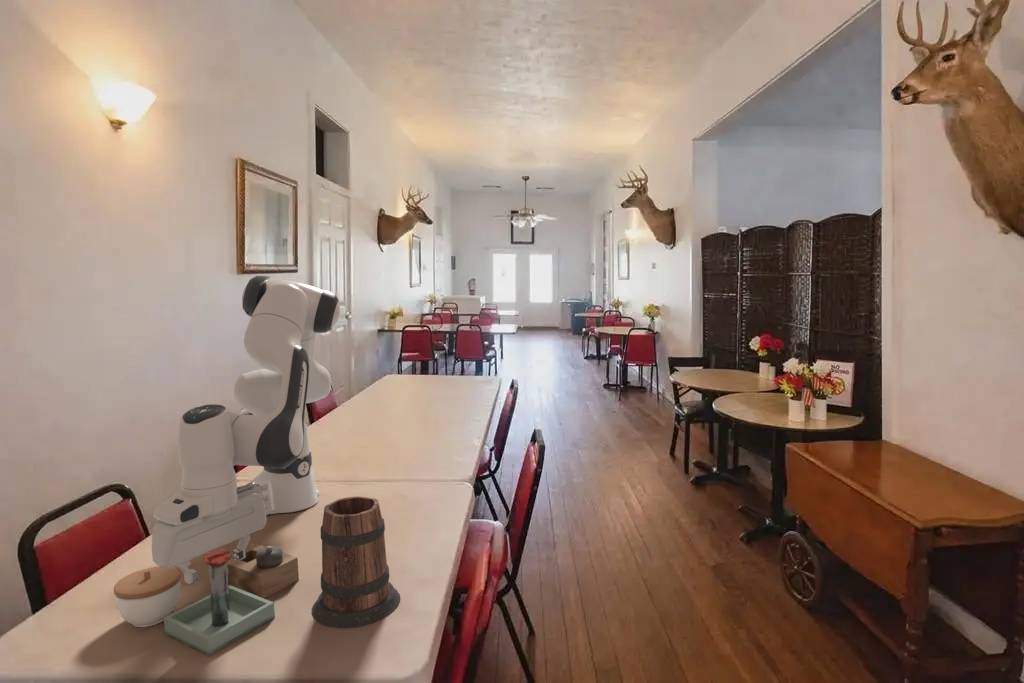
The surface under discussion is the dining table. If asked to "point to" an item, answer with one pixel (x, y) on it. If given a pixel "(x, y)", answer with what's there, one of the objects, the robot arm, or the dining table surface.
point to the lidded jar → (147, 595)
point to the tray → (203, 636)
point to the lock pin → (219, 586)
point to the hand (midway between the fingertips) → (216, 569)
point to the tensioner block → (263, 570)
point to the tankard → (354, 566)
